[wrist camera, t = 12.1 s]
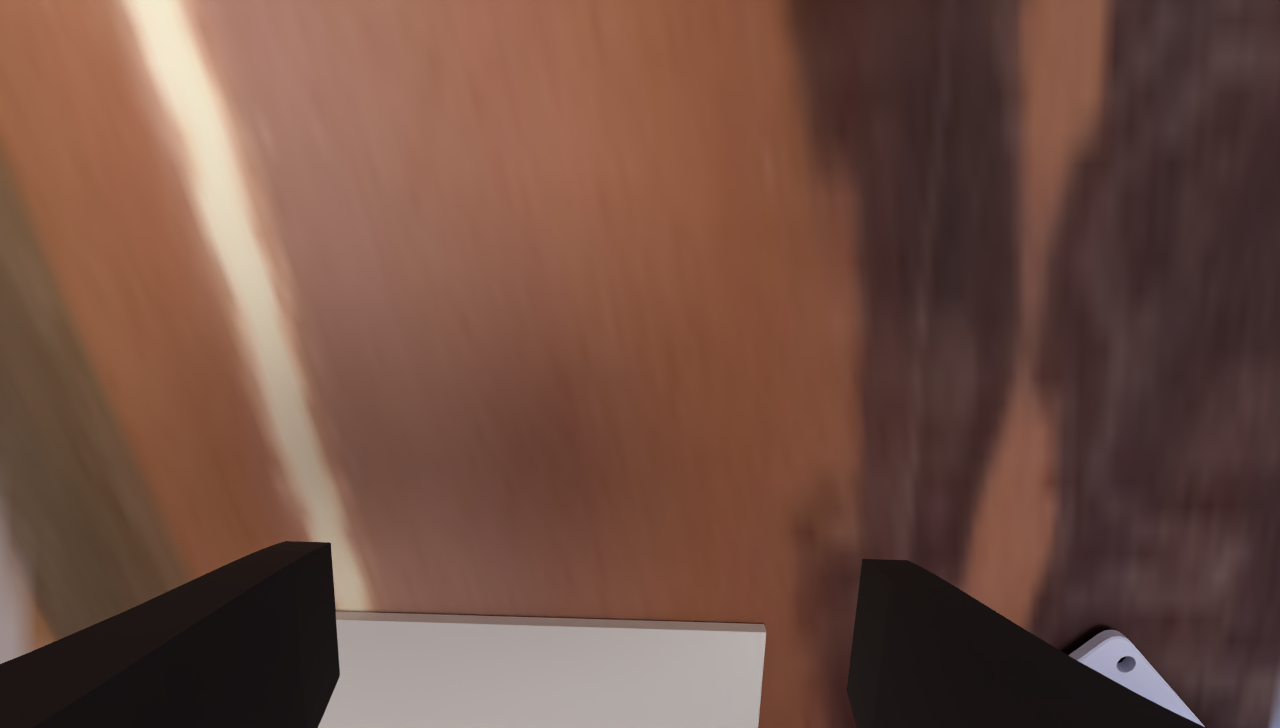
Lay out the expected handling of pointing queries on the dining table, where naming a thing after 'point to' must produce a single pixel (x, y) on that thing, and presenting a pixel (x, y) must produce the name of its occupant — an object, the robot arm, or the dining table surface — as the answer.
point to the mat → (543, 672)
